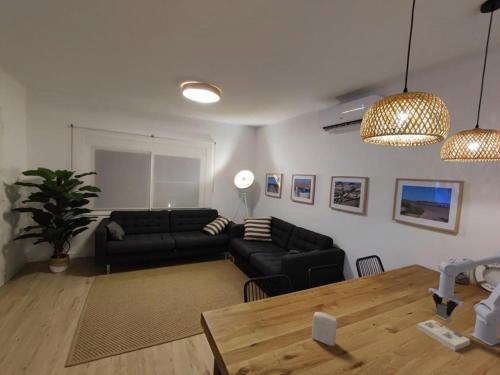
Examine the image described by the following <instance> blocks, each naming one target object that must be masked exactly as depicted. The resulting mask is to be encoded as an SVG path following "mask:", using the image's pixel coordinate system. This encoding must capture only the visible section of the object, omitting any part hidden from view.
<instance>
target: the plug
mask: <svg viewBox="0 0 500 375" xmlns="http://www.w3.org/2000/svg"><path fill="white" fill-rule="evenodd" d="M451 316H452V314H451V315H450V316H448V315H447V303H445V302H443V301H442V303H438V305H437V309H436V315H435V317H436V318H437V319H439V320H441V321H443V322H448V321H449V322H450V321H451Z"/></svg>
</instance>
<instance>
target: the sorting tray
mask: <svg viewBox="0 0 500 375" xmlns="http://www.w3.org/2000/svg"><path fill="white" fill-rule="evenodd" d="M416 326H417V327H416V329H417V330H419V331H421V332H422V333H424V334H426V335H427V336H428V337H430V338H432V339H434V340H435V341H437V342H438V343H441V344H442V345H444V346H445V347H447V348H448V349H451V350H452V351H454V352H456V351H458V350H460V349H463V348H466V347H468V346H470V344H471V339H470V338H468V337H467V336H464V335H463V334H461V333H458V332H457V331H455V330H453V329H451V328H449V327H447V325H446V326H445V325H444V324H442V323H441V322H439V321H437V320H434V319H428V320H425V321H422V322H419V323H417V325H416Z"/></svg>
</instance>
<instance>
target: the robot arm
mask: <svg viewBox="0 0 500 375" xmlns="http://www.w3.org/2000/svg"><path fill="white" fill-rule="evenodd" d="M493 264H496V265H497V264H498V265H500V250H498V251H497V250H496V251H493V252H492V253H489V254H486V255H483V256H480V257H475V258H472V259H471V258H469V257H464V256H463V257H460V259H459V258H458V259H456V260H450V261H447V260H443V261H442V262H440V263H439V265H438V269H439V270H440V275H439V285H438V289H436V288H433V287H429V288H428V292H429V293H431V294H432V300H434V303H435V308H436V310H437V305H438V303H442V302H443V299H445V300H447V301H446V304H447V315H448V316H450V315H451V316H452V314H453V311H454V310H455V309H456V307H457V306H459V307H464V305H465V301H463V300H460V299H459V298H457V297H455V296H454V292H455V286H456V285H455V284H456V277H458V276H459V274H461V273H465V272H469V271H473V270H475V269H476V267H481V266H488V265H493ZM473 311H474V313H475V316H476V317H475V318H476V319H475V326H474V332H472V333H470V334H469V335H470V337H473V338H475V339H477V340H478V341H480V342H483V343H484V344H487V345H488V346H491V347H492V346H495V345H497V344H499V343H500V282H498V284H497V285H496V286H495V288H494V289H493V291H492V292H491V293H490V295H489V297H488V298H486V299H481V300H480V302H478V303H476V304H475V305H473ZM451 316H450V317H451Z"/></svg>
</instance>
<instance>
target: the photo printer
mask: <svg viewBox="0 0 500 375" xmlns="http://www.w3.org/2000/svg"><path fill="white" fill-rule="evenodd" d="M312 319H313V320H312V327H311V328H312V329H311V339H313V340H315V341H318V342H320V343H323V344H325V345H328V346H330V347H334V346H336V337H337V327H338V324H337V322H338V321H337V319H336V317H334V316H332V315H330V314H328V313H326V312H320V311H315V313H314V314H313V317H312Z"/></svg>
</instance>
